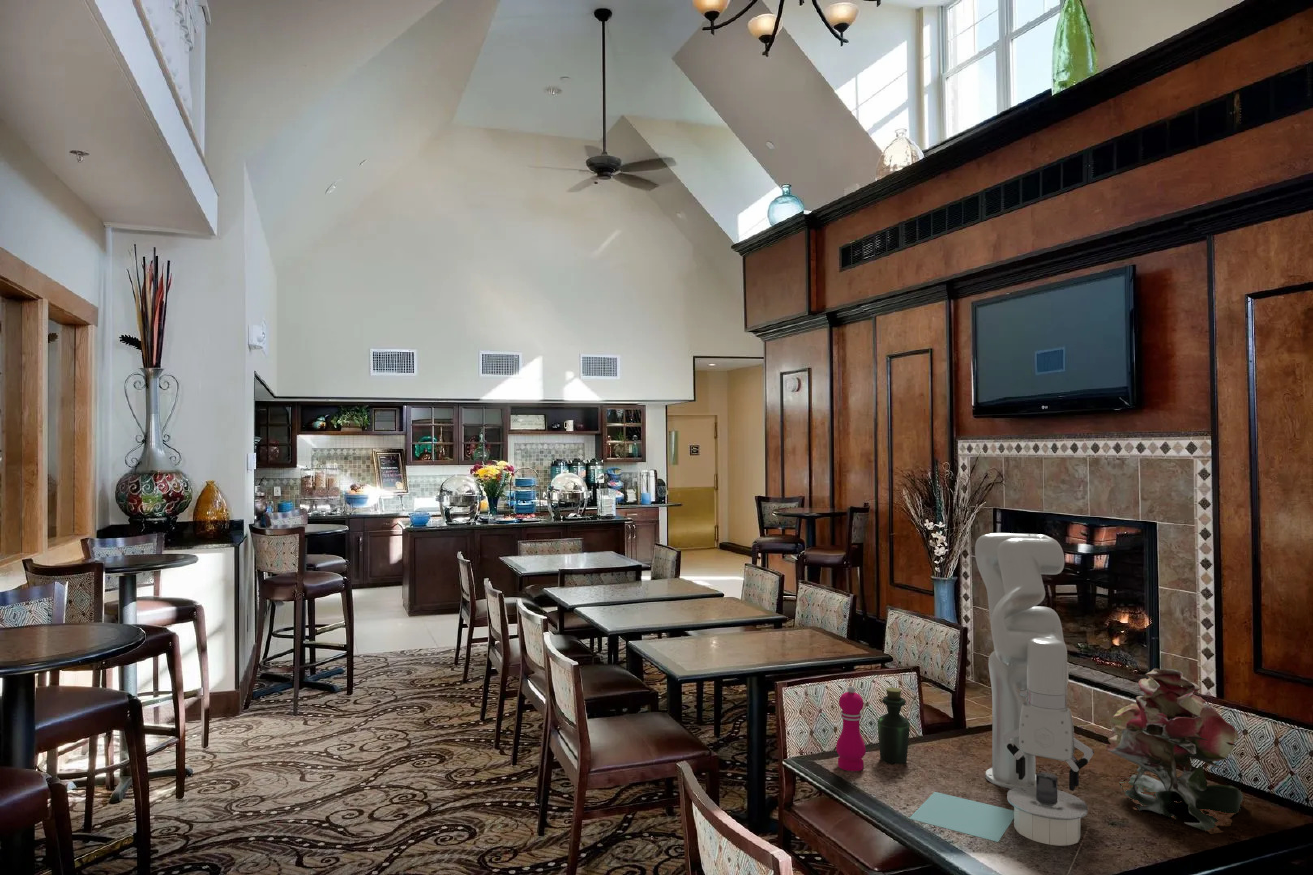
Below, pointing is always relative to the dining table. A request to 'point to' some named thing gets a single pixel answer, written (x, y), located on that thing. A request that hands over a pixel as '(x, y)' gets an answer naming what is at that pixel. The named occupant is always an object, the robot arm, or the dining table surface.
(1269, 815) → the dining table surface
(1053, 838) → the white faceted bowl
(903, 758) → the potion bottle
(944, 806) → the teal mat
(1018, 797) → the metal lid
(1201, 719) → the rose bouquet
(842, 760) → the pepper mill
